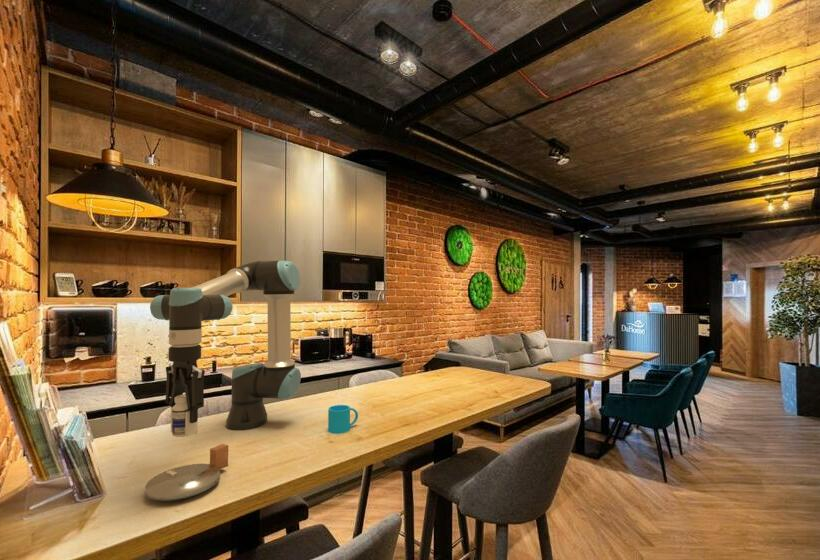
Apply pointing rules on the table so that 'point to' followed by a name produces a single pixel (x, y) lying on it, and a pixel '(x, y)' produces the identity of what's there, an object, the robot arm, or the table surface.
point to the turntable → (188, 478)
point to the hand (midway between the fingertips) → (183, 432)
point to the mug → (340, 419)
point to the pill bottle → (179, 416)
